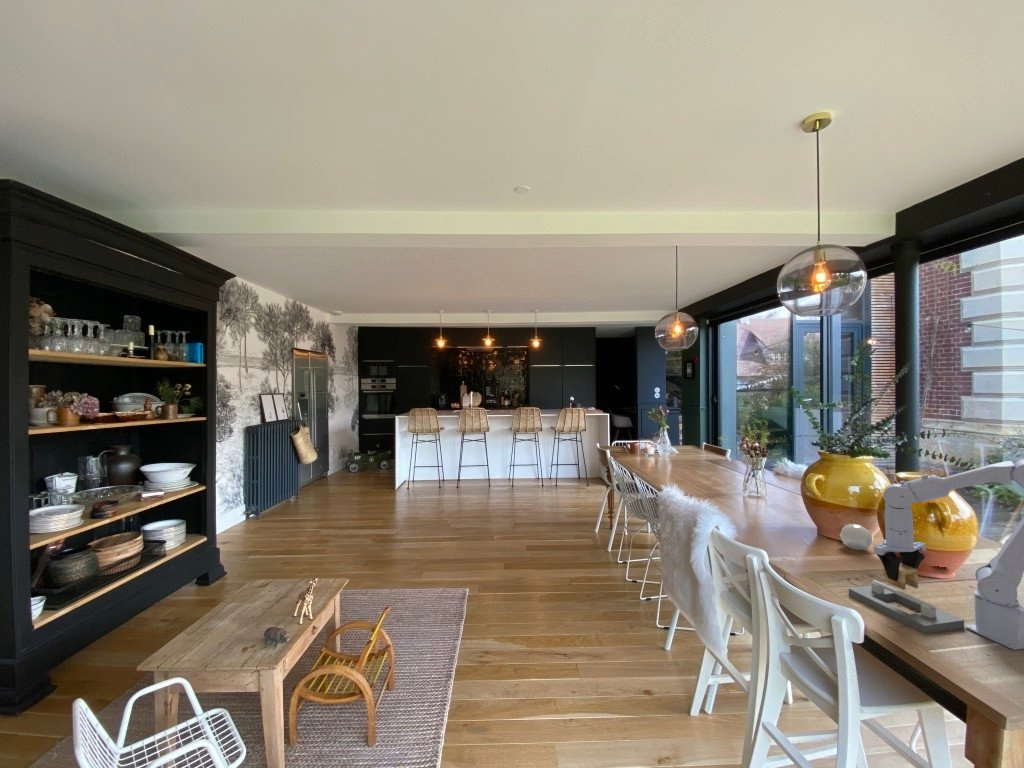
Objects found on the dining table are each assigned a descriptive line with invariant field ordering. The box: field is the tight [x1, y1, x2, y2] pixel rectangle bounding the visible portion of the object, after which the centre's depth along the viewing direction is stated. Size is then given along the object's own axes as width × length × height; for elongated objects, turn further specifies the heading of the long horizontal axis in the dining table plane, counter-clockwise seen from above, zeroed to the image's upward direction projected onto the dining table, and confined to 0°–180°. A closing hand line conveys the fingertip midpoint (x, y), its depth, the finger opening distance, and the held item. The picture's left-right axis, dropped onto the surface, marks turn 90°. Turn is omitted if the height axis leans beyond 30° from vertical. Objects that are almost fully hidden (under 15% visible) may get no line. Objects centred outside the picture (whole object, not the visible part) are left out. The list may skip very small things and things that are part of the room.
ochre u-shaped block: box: [882, 562, 919, 591], centre depth 116 cm, size 5×5×5 cm
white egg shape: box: [838, 523, 873, 551], centre depth 161 cm, size 9×10×15 cm
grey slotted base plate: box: [848, 579, 965, 634], centre depth 116 cm, size 20×12×5 cm, turn 9°
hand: (900, 578), depth 116 cm, fingers closed on ochre u-shaped block, 5 cm apart
